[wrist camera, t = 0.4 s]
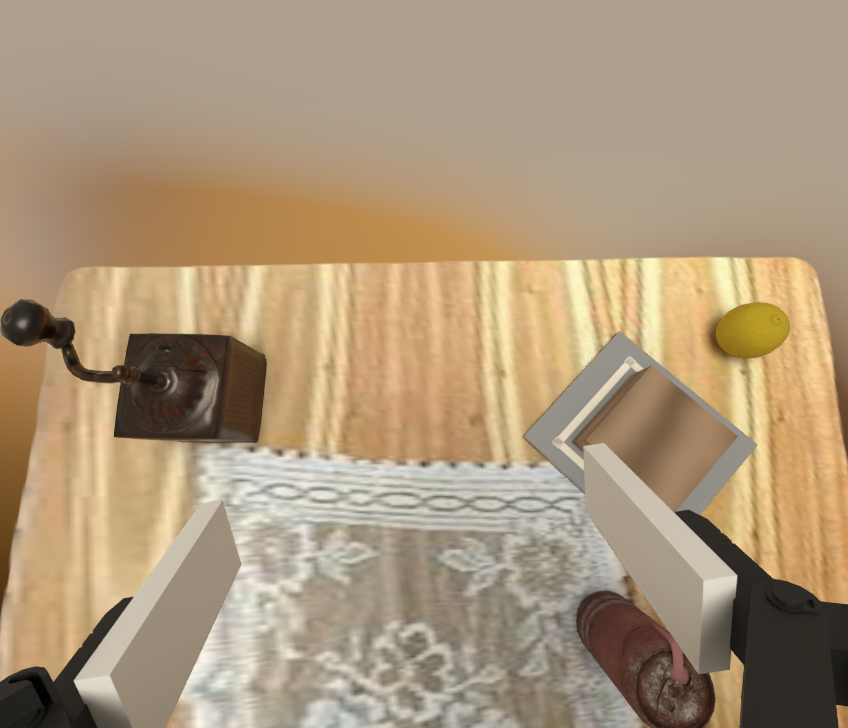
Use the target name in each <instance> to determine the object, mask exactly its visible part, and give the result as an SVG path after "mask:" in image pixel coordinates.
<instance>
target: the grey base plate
mask: <svg viewBox="0 0 848 728" xmlns="http://www.w3.org/2000/svg"><path fill="white" fill-rule="evenodd" d="M651 365H652V366H653V367H655V368H656V369H657V370H658V371H659V372H661V373H662V374H663V375H664V376H665V377H667V378H668V379H669V380H670V381H672V382H673V383H674V384H675V385H676V386H678V387H679V388H680V389H681V390H682V391H684V392H685V393H686V394H687V395H688V396H690V397H691V398H692V399H693V400H695V401H696V402H697V403H698V404H699V405H701V406H702V407H703V408H704V409H705V410H707V411H708V412H709V413H710V414H711V415H713V416H714V417H715V418H716V419H718V420H719V421H720V422H721V423H722V424H724V425H725V426H726V427H727V428H728V429H730V430H731V431H732V432H733V433H734V434H736V435H737V436H738V437H737V438H736V440H735V441H734V442H733V443H732V444H731V446H730V447H729V448H728V449H727V450H726V452H725V453H724V454H723V455H722V456H721V458H720V459H719V460H718V461H717V462H716V464H715V465H714V466H713V467H712V468H711V470H710V471H709V472H708V473H707V474H706V476H705V477H704V478H703V479H702V480H701V482H700V483H699V484H698V485H697V486H696V488H695V489H694V490H693V491H692V492H691V494H690V495H689V496H688V497H687V498H686V500H685V501H684V502H683V503H682V504H681V506H680V507H679V508H678V509H677V510H676V511H683V510H691V511H693V512H695V513H697V514H699V515H700V514H701V513H702V512H703V511H704V510H705V508H706V507H707V506H708V505H709V503H710V502H711V501H712V500H713V499H714V497H715V496H716V495H717V494H718V492H719V491H720V490H721V489H722V488H723V486H724V485H725V484H726V483H727V482H728V480H729V479H730V478H731V477H732V475H733V474H734V473H735V472H736V471H737V469H738V468H739V467H740V466H741V465H742V463H743V462H744V461H745V460H746V458H747V457H748V456H749V455H750V454H751V452H752V451H753V450H754V449H755V447H756V446H757V444H756V443H755V442H754V441H752V440H751V439H750V438H749V437H748V436H746V435H745V434H744V433H743V432H742V431H740V430H739V429H738V428H737V427H735V426H734V425H733V424H732V423H731V422H729V421H728V420H727V419H726V418H724V417H723V416H722V415H721V414H720V413H718V412H717V411H716V410H715V409H714V408H712V407H711V406H710V405H709V404H707V403H706V402H705V401H704V400H703V399H701V398H700V397H699V396H698V395H696V394H695V393H694V392H693V391H692V390H690V389H689V388H688V387H687V386H686V385H684V384H683V383H682V382H681V381H679V380H678V379H677V378H676V377H675V376H673V375H672V374H671V373H670V372H669V371H667V370H666V369H665V368H664V367H662V366H661V365H660V364H659V363H658V362H656V361H655V360H654V359H653V358H651V357H650V356H649V355H648V354H647V353H645V352H644V351H643V350H642V349H641V348H639V347H638V346H637V345H636V344H634V343H633V342H632V341H631V340H630V339H628V338H627V337H626V336H625V335H624V334H622V333H621V332H620V331H619V332H618V333H617V334H616V335H615V336H614V337H613V338H612V339H611V340H610V341H609V342H608V344H607V345H606V346H605V347H604V348H603V349H602V350H601V351H600V352H599V353H598V355H597V356H596V357H595V358H594V359H593V360H592V361H591V362H590V363H589V364H588V366H587V367H586V368H585V369H584V370H583V371H582V372H581V373H580V374H579V375H578V377H577V378H576V379H575V380H574V381H573V382H572V383H571V384H570V385H569V386H568V388H567V389H566V390H565V391H564V392H563V393H562V394H561V395H560V396H559V397H558V398H557V400H556V401H555V402H554V403H553V404H552V405H551V406H550V407H549V408H548V409H547V411H546V412H545V413H544V414H543V415H542V416H541V417H540V418H539V419H538V420H537V422H536V423H535V424H534V425H533V426H532V427H531V428H530V429H529V430H528V431H527V433H526V434H525V435H524V436H523V438H524V439H525V440H526V441H528V442H529V443H530V444H531V445H532V446H533V447H534V448H535V449H536V450H537V451H538V452H540V453H541V454H542V455H543V456H544V457H545V458H546V459H547V460H548V461H549V462H550V463H551V464H553V465H554V466H555V467H556V468H557V469H558V470H559V471H560V472H561V473H562V474H563V475H565V476H566V477H567V478H568V479H569V480H570V481H571V482H572V483H573V484H574V485H575V486H576V487H578V488H579V489H580V490H581V491H582V492H583V493H584V494H585V479H584V453H583V452H582V451H581V450H580V449H579V448H578V447H576V446H575V445H574V444H573V443H572V441H573V440H574V439H575V438H576V436H577V435H578V434H579V433H580V432H581V431H582V430H583V429H584V427H585V426H586V425H587V424H588V423H589V422H590V421H591V420H592V418H593V417H594V416H595V415H596V414H597V413H598V412H599V411H600V409H601V408H602V407H603V406H604V405H605V404H606V403H607V402H608V400H609V399H610V398H611V397H612V396H613V395H614V394H615V393H616V392H617V390H618V389H619V388H620V387H621V386H622V385H623V384H624V383H625V381H626V380H627V379H628V378H629V377H630V376H631V375H632V374H634V373H636V372H638V371H641V370H643V369H645V368H647V367H649V366H651Z"/></svg>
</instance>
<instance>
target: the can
mask: <svg viewBox="0 0 848 728" xmlns="http://www.w3.org/2000/svg"><path fill="white" fill-rule="evenodd" d="M577 628H578V633H579V635H580V638H581V640H582V642H583V643H584V645H585V646H586V647H587V649H588V650H589V651H590V653H591V654H592V655H593V657H594V658H595V659H596V661H597V662H598V663H599V665H600V666H601V667H602V669H603V670H604V671H605V673H606V674H607V675H608V677H609V678H610V679H611V681H612V682H613V683H614V685H615V686H616V687H617V688H618V690H619V691H620V692H621V694H622V695H623V696H624V698H625V699H626V700H627V702H628V703H629V704H630V706H631V707H632V708H633V710H634V711H635V712H636V714H637V715H638V716H639V717H640V719H641V720H642V721H643V722H644V723H646V724H647V725H648V726H650V727H651V728H704V727H705V726H706V725H707V724H708V723H709V721H710V718H711V716H712V714H713V712H714V706H715V699H716V698H715V692H714V686H713V683H712V681H711V677H710V674H709V673H704V674H698V673H697V671H696V670H695V668H694V667H693V666H692V664H691V663H690V661H689V660H688V658H687V657H686V655H685V654H684V653H683V651H682V650H681V648H680V647H679V645H678V644H677V642H676V641H675V640H674V638H673V637H672V635H671V634H670V632H668V631H667V630H666V629H664V628H663V627H662V626H660V625H659V624H658V623H657V622H655V621H654V620H653V619H651V618H650V617H649V616H647V615H646V614H645V613H643V612H642V611H641V610H640V609H638V608H637V607H636V606H634V605H633V604H632V603H630V602H629V601H628V600H626V599H625V598H623V597H622V596H621V595H619V594H616V593H613V592H609V591H608V592H598V593H595V594H593V595H590V596H589V597H588V598H587V599H586V600H585V601H584V602H583V603H582V605H581V607H580V609H579V611H578V616H577Z"/></svg>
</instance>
